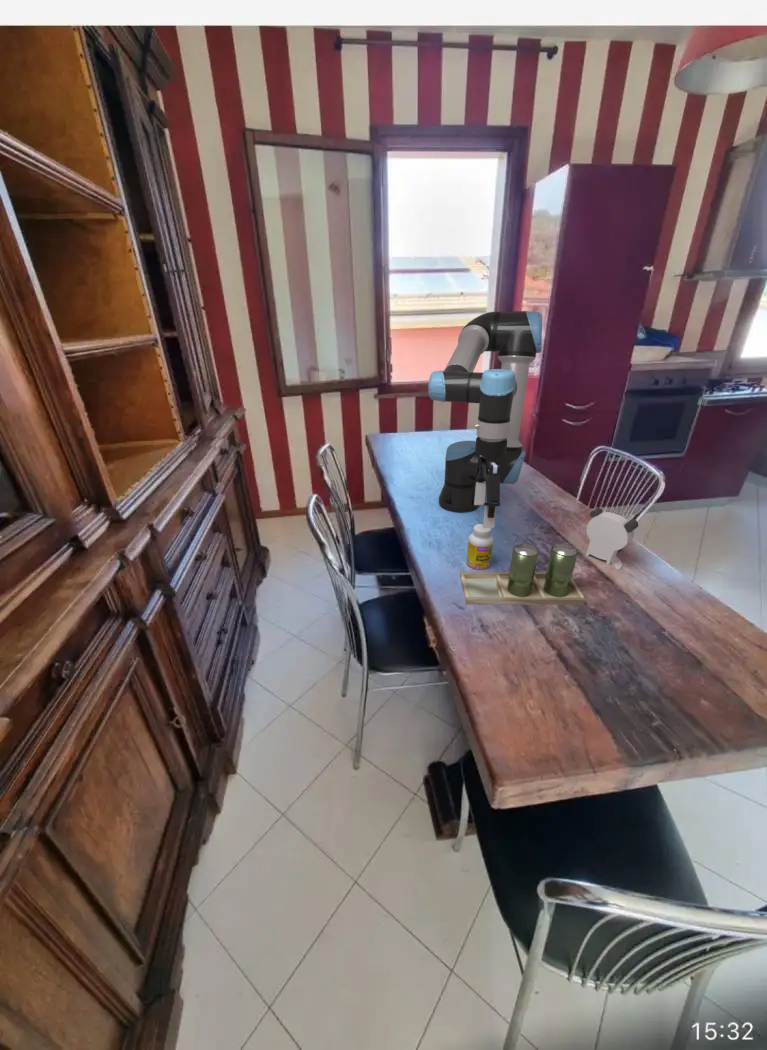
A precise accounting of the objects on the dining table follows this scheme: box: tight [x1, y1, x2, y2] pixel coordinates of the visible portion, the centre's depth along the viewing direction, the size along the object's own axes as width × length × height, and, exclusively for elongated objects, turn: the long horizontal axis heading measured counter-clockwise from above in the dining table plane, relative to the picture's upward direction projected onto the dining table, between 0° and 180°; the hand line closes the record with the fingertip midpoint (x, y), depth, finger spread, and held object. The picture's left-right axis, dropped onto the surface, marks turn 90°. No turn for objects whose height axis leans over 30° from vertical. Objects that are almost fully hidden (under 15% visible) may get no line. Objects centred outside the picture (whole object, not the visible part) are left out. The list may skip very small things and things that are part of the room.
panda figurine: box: [585, 507, 639, 571], centre depth 118 cm, size 12×11×15 cm
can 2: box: [544, 543, 579, 597], centre depth 105 cm, size 6×6×12 cm
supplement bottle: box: [465, 523, 494, 572], centre depth 117 cm, size 7×7×13 cm
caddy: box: [459, 571, 587, 606], centre depth 108 cm, size 12×29×2 cm, turn 88°
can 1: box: [507, 543, 540, 597], centre depth 105 cm, size 6×6×12 cm
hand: (483, 515), depth 112 cm, fingers open, 13 cm apart
